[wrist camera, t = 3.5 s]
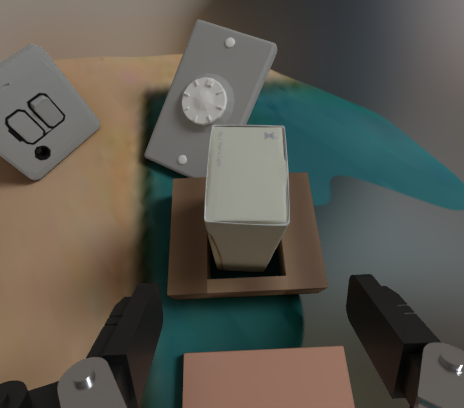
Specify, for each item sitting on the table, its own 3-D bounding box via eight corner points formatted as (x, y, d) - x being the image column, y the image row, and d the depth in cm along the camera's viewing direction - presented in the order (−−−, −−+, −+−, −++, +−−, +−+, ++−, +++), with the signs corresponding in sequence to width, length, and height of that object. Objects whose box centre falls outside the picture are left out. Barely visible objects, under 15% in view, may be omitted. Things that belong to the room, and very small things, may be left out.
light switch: (137, 155, 28) (192, 11, 26) (165, 163, 34) (212, 45, 32) (211, 189, 26) (276, 37, 25) (228, 191, 32) (281, 68, 30)
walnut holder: (175, 299, 24) (167, 295, 21) (179, 194, 28) (173, 178, 25) (318, 293, 24) (328, 287, 21) (300, 188, 28) (307, 172, 25)
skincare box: (220, 207, 27) (208, 120, 16) (267, 208, 27) (286, 121, 16) (216, 273, 25) (198, 222, 14) (267, 275, 24) (291, 224, 13)
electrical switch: (37, 185, 29) (-52, 117, 21) (10, 163, 31) (-81, 93, 23) (105, 126, 32) (51, 48, 24) (77, 110, 34) (19, 31, 26)
